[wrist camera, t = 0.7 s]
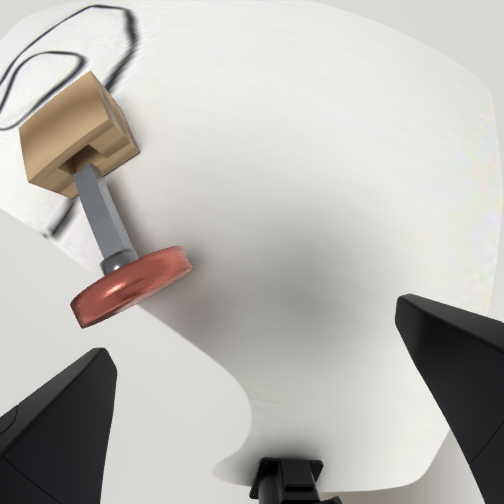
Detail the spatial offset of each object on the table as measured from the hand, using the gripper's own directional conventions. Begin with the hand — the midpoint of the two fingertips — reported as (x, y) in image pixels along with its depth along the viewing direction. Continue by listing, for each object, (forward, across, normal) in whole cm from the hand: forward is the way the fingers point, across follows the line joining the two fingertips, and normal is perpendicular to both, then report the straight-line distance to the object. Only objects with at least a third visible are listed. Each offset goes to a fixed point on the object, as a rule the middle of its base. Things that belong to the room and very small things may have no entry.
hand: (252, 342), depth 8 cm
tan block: (+20, +12, -8) cm, 25 cm away
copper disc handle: (+16, +9, 0) cm, 18 cm away
